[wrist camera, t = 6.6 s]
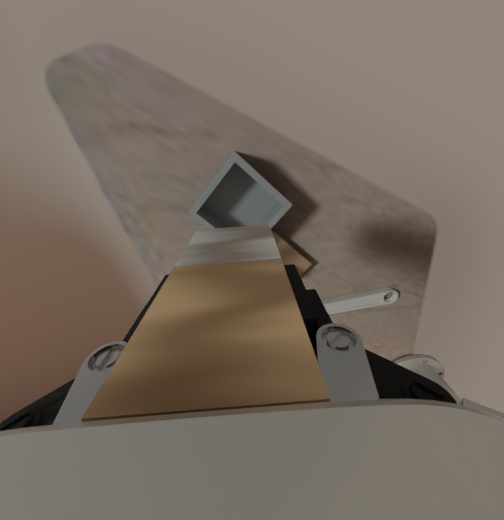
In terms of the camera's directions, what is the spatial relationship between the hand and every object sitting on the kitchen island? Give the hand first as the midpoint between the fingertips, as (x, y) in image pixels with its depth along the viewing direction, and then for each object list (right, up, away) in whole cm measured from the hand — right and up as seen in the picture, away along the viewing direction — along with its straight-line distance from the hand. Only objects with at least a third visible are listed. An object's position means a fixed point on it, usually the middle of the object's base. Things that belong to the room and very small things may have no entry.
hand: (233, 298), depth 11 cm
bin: (-1, +10, +21) cm, 24 cm away
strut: (0, +2, +4) cm, 4 cm away
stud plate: (+4, +1, +25) cm, 26 cm away
